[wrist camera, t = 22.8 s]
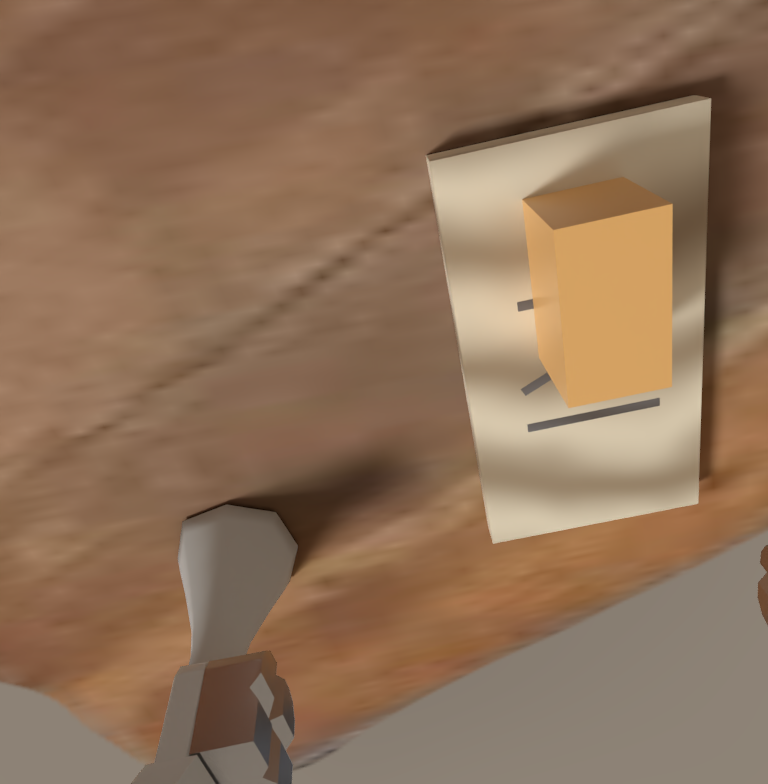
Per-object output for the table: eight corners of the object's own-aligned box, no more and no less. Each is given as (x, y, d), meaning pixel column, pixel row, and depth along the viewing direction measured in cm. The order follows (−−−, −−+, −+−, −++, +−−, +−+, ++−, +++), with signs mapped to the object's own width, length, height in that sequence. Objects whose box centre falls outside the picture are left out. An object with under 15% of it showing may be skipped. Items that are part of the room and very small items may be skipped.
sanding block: (521, 199, 30) (553, 229, 25) (623, 176, 29) (672, 203, 25) (538, 357, 34) (568, 408, 29) (628, 338, 33) (672, 386, 29)
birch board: (425, 155, 30) (429, 161, 29) (694, 94, 29) (711, 98, 28) (488, 526, 41) (493, 543, 39) (686, 487, 40) (698, 503, 39)
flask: (289, 495, 39) (274, 633, 30) (306, 586, 42) (297, 734, 34) (164, 507, 39) (112, 649, 30) (192, 598, 42) (152, 748, 34)
